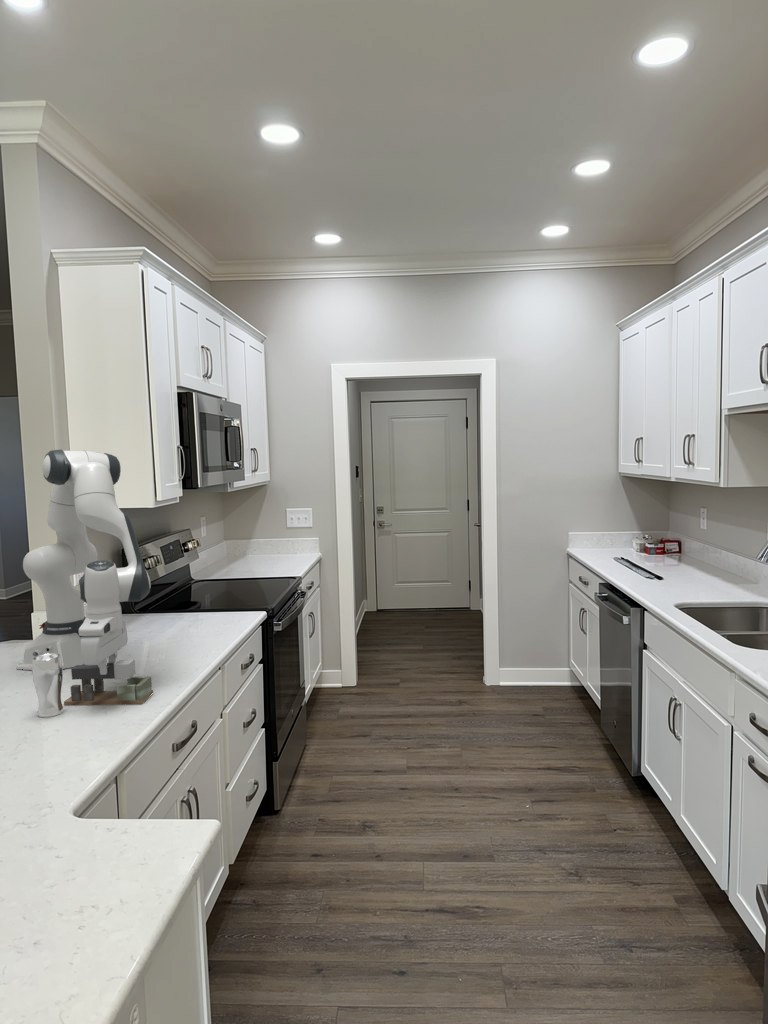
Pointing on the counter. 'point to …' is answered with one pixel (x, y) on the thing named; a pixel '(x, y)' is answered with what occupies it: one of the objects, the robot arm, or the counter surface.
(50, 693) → the beer glass
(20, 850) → the counter surface
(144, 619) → the counter surface
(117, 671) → the dark grey square bar
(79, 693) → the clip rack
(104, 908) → the counter surface
